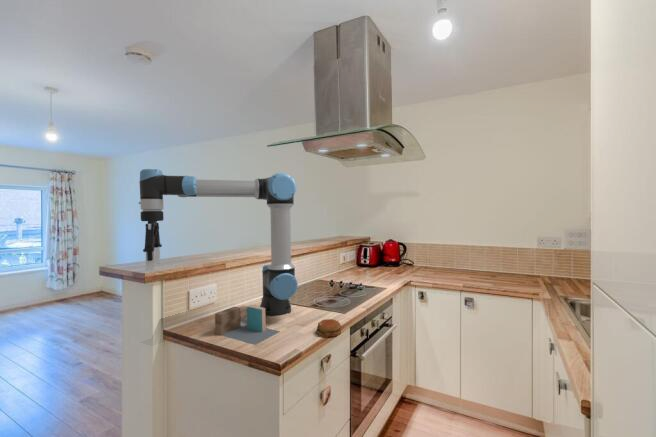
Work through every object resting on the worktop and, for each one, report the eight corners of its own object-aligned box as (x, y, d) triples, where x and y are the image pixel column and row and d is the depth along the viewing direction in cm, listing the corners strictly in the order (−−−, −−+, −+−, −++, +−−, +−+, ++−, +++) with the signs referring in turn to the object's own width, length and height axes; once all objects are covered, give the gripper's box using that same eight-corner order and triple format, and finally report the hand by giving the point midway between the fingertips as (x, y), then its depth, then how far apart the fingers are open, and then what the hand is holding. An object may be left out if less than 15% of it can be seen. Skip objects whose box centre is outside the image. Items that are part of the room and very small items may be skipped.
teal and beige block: (250, 326, 128) (250, 305, 128) (265, 330, 124) (265, 308, 124) (247, 328, 126) (246, 306, 126) (262, 332, 122) (261, 309, 122)
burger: (346, 334, 121) (345, 322, 121) (326, 340, 116) (326, 327, 115) (331, 326, 129) (331, 315, 129) (312, 332, 124) (312, 320, 124)
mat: (280, 332, 123) (280, 331, 123) (255, 346, 110) (255, 344, 110) (240, 323, 134) (240, 322, 134) (214, 334, 122) (214, 333, 122)
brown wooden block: (223, 335, 119) (223, 315, 119) (213, 333, 122) (212, 312, 122) (256, 321, 134) (256, 303, 134) (246, 319, 137) (246, 301, 137)
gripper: (146, 210, 127) (147, 262, 127) (133, 210, 104) (135, 273, 104) (166, 210, 130) (168, 261, 130) (158, 210, 106) (160, 271, 107)
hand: (153, 266), depth 117 cm, fingers open, 13 cm apart
